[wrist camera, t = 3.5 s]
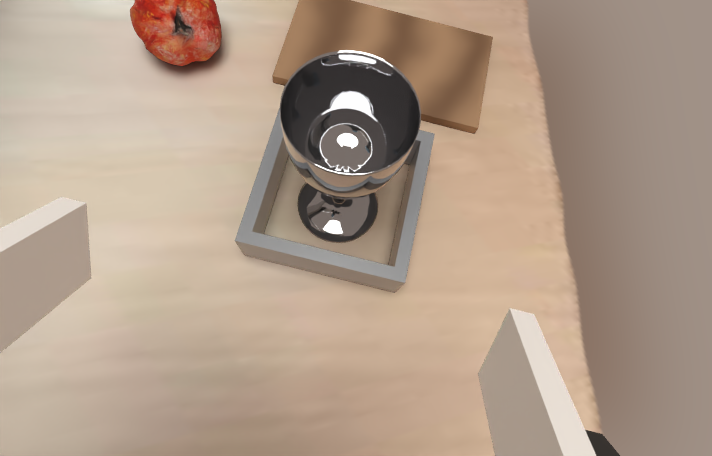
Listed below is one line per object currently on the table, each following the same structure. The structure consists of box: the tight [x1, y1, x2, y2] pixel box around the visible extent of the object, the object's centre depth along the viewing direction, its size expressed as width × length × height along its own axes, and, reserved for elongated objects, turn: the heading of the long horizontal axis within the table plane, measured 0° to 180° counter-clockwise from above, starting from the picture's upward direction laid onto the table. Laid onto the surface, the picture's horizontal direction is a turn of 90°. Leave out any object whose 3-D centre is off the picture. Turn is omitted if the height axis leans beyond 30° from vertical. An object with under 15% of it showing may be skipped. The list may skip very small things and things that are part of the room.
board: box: [273, 0, 493, 133], centre depth 43 cm, size 20×11×1 cm, turn 77°
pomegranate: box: [130, 0, 222, 66], centre depth 39 cm, size 7×7×10 cm
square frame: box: [235, 108, 434, 293], centre depth 36 cm, size 13×13×4 cm
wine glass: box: [280, 50, 421, 243], centre depth 31 cm, size 8×8×15 cm
